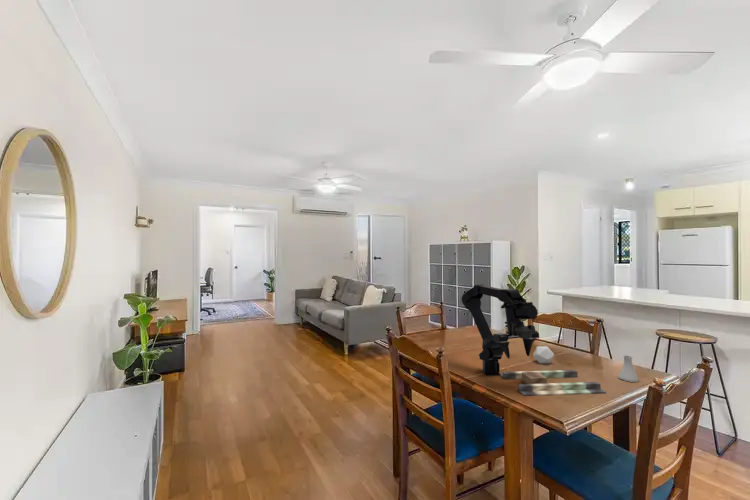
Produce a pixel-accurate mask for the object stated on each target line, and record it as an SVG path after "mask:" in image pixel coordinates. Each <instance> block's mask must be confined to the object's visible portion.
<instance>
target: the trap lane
mask: <svg viewBox="0 0 750 500" xmlns="http://www.w3.org/2000/svg"><path fill="white" fill-rule="evenodd" d="M522 372H538V373H540V374H542V375H543V376H545V377H546V378H547V379H555V378H556V379H558V378H562V379H563V378H565V379H566V378H578V371H577V370H576V369H565V370H564V369H563V370H561V369H560V370H559V369H557V370H522V371H520V370H519V371H502V373H500V375H499V376H501V378H502V379H504V380H522ZM601 387H602V386H601V383H599V382H598V381H589V382H587V381H586V382H582V381H581V382H553V383H550V382H547V383H546V384H525V383H523V384H522V383H519V384H517V391H518V392H519V393H520V394H521V395H522V396H525V397H527V396H528V397H531V396H532V397H535V396H561V395H565V396H566V395H591V394H593V395H594V394H596V395H597V394H606V393H607V391H605V390H603V389H602V388H601Z"/></svg>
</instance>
